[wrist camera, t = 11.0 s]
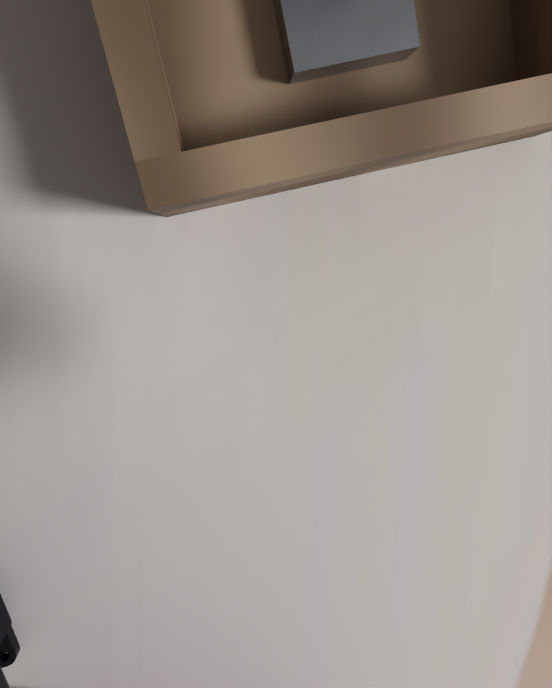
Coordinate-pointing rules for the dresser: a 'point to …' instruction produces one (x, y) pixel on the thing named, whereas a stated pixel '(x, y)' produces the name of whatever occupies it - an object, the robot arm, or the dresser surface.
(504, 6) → the open wooden box
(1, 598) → the robot arm
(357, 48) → the grey block
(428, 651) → the dresser surface
